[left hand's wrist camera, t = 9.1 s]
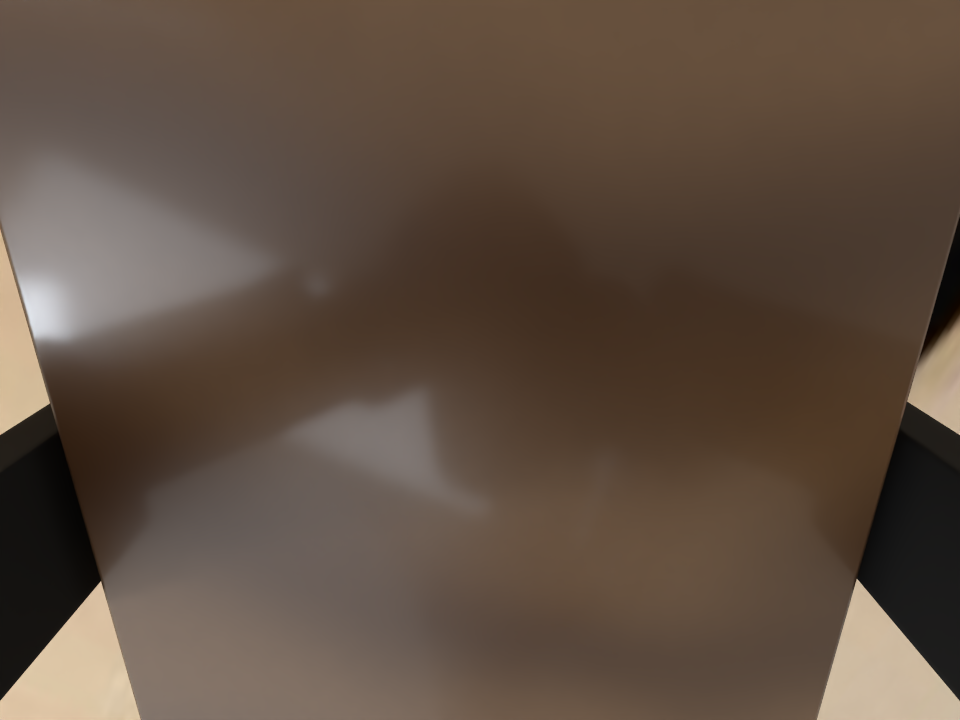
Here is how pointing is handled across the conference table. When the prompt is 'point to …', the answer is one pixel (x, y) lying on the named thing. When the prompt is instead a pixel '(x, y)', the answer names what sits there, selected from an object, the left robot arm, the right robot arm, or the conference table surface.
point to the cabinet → (478, 337)
